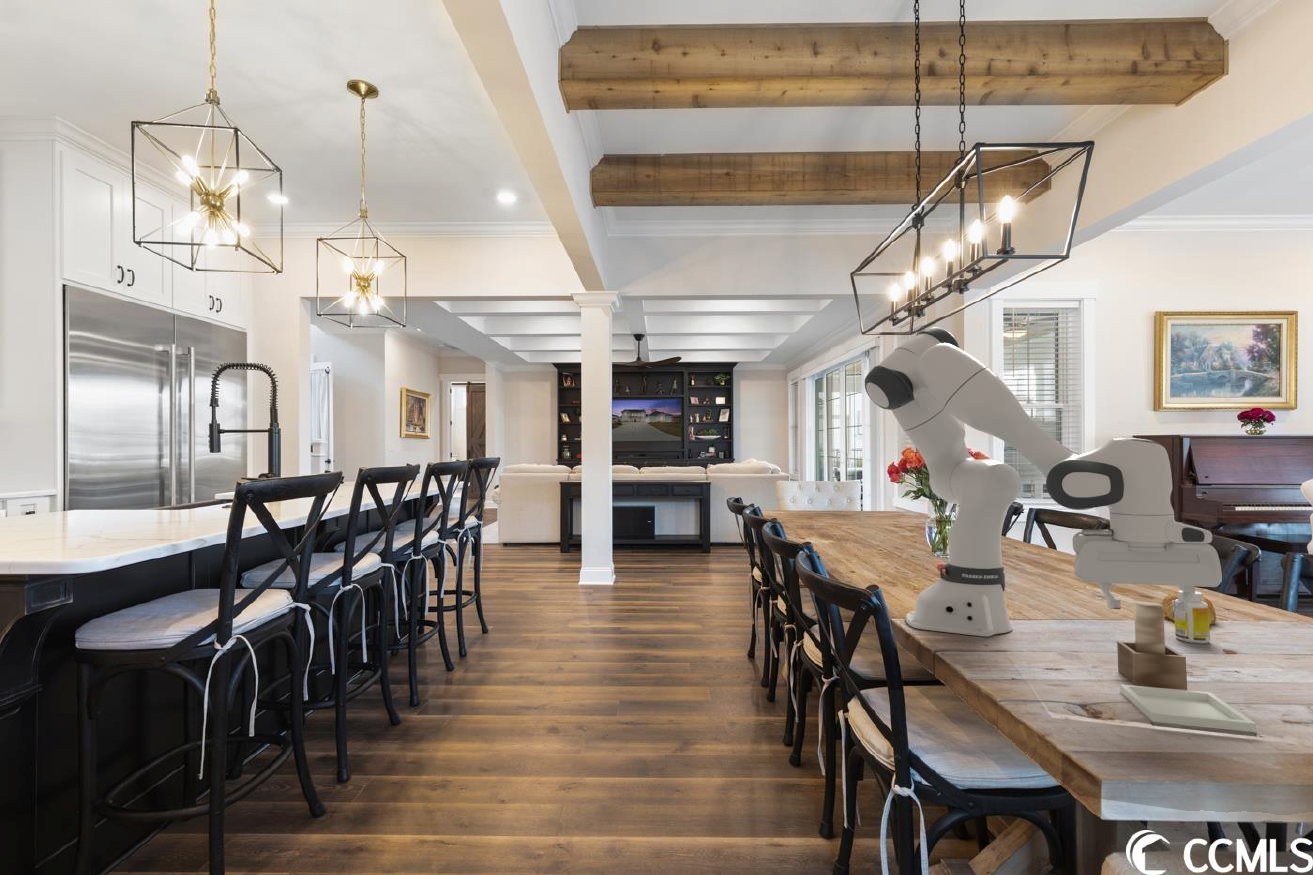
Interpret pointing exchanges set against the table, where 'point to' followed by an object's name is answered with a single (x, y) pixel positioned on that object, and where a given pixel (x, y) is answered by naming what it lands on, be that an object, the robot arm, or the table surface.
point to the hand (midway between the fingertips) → (1146, 610)
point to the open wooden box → (1152, 667)
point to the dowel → (1149, 628)
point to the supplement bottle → (1193, 621)
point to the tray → (1188, 709)
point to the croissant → (1168, 599)
